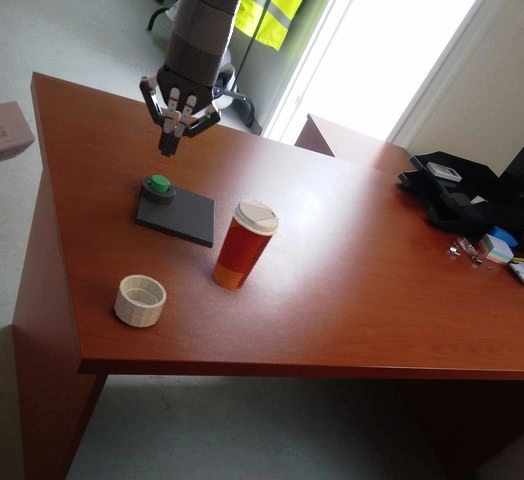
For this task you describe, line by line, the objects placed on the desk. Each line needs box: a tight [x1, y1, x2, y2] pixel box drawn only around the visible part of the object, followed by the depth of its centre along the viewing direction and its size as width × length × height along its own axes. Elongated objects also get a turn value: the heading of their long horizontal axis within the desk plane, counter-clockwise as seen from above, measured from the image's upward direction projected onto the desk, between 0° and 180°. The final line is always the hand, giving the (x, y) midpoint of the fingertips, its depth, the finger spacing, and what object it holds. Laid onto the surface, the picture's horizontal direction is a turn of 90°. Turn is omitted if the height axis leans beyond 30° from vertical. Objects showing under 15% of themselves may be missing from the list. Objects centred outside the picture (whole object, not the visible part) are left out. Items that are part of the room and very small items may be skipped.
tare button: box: [150, 174, 170, 193], centre depth 84 cm, size 3×3×2 cm
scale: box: [134, 175, 216, 249], centre depth 85 cm, size 15×15×3 cm
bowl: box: [113, 274, 167, 328], centre depth 64 cm, size 6×6×4 cm
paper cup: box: [212, 198, 280, 291], centre depth 75 cm, size 8×8×14 cm
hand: (165, 153), depth 73 cm, fingers closed
